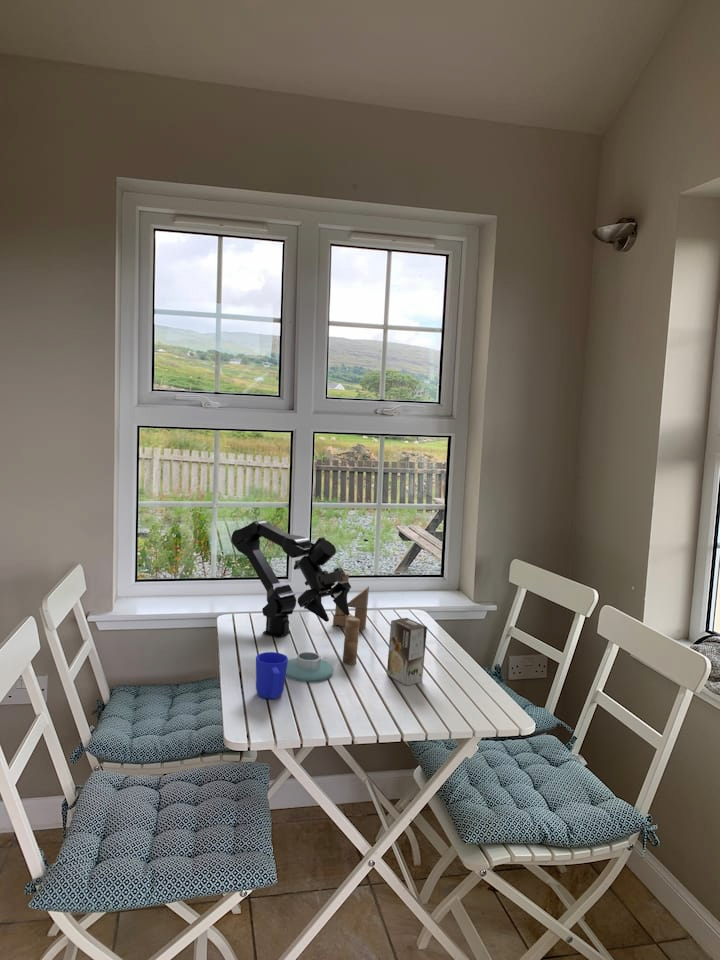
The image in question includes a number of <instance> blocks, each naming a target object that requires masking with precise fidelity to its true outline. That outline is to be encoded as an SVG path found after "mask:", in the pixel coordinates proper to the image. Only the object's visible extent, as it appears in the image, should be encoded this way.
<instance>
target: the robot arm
mask: <svg viewBox="0 0 720 960" xmlns="http://www.w3.org/2000/svg"><path fill="white" fill-rule="evenodd" d="M261 538H264V539H267V540H269V541H270V542H272V543H274V544H276V545H277V546H279V547H281V549H282V551H283V553H285V554H286V555H287V556H289V558H291V559H293V558H294V559H295V558H296V559H297V558H299V559H297V560H295V561H294V565H293V570H294V571H295V570H300V571H301V573H302V575H303V577H304V579H305V582H304V584H305V586H308V587H310V589H306V590H305V591H304V592H303V593H302V594H301V595H299V596H298V598H296V594H295V592H294V591H293V590H292V587H291V586H290V584H284V585H283V584H282V583H281V581H280V580H279V578H278V577H277V575H276V574H275V572H274V570H273V569H272V566H271V565H270V563H269V562H268V560H267V558H266V557H265V555H264V553H263V552H262V550H261V541H260V540H261ZM230 539H231V543H232V545H233V546H234V548H235V549H236V550H237V551H238V552H239V553H240V554H243V555H244V556H245V557H246V558H247V560H248V561H249V563H250V564H251V567H252V569H254V572H255V573H256V576H258V578H259V580H260V582H261V584H262V585H263V587H264V589H265V591H266V602H267V603H266V605H264V606H263V607H262V609H261V611H262V615H263V616H264V617H266V623H265V630H264V631H262V634H264V635H266V636H271V637H275V638H277V639H278V638H279V639H281V638H282V637H284V636H286V635H288V634H290V633H291V631H290V620H289V615H292V614H293V612H294V610H295V608H296V605H297V604H298V605H299V607H300V608H303V609H305V610H308V611H309V612H311V613H313V614H314V615H316V616H317V617H318V618H320V619H321V620H322V621H325V622H326V623H328V622H329V621H330V619H329V616H328V614H327V612H326V610H325V607H324V605H323V604H322V598H324V597H329V596H330V598H332V602H334V604H335V606H336V605H337V606H338V607H339V608H340V609H341V611H342V612H343V613H344V614H345V615H346V616H348V615H349V614H350V609H349V607H348V594H349V592H350V591H351V590H350V589H352V586H351V583H350V582H349V581H348V582H347V581H343V577H345V573H344V572H345V571H344V569H343V568H342V567H337V568H334V569H333V571H332V572H328V571H327V570H323V569H322V566H324V565H325V564H326V563H327V562H329V561H330V560H331V559H332V558H333V557H334V556H335V555H336V553H337V550H336V549H337V548H336V547H335V545H334V544H332V542H330V541H329V540H326V539H325V537H324V536H323V537H319V538H317V540H316V542H315V543H314V542H312V541H311V540H310V539H309V537H306V536H302V535H295V534H290V533H288V532H286V531H285V530H282V529H281V528H279V527H276V526H275V525H272V524H270V523H269V521H266V520H264V519H260V520H255V521H253V522H251V523H249V524H248V525H246V526H244V527H241V528H239V529H236V530H233V532H232V534H231V537H230ZM300 557H301V558H300ZM338 581H343V582H339V583H338Z"/></svg>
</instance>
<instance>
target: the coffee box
mask: <svg viewBox="0 0 720 960" xmlns="http://www.w3.org/2000/svg"><path fill="white" fill-rule="evenodd" d="M389 631H390V632H389V640H388V641H389V643H388V644H389V645H388V655H387V665H386V666H387V668H386V675H387V676H389V677H390V678H393V679H394V680H395V681H398V682H400V683H402V684H403V685H405V686H410V685H414V684H419V683H422V682H423V677H424V675H423V674H424V667H425V666H424V664H425V655H426V643H427V631H428V626H426V625H423V624H422V623H419V622H417V621H415V620H413V619H411V618H409V617H403V618H398V619H393V620H391V621H390V630H389Z"/></svg>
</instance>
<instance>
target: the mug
mask: <svg viewBox="0 0 720 960" xmlns="http://www.w3.org/2000/svg"><path fill="white" fill-rule="evenodd" d="M288 660H289V658H288V656H287V655H285V654H283V653H281V652H274V651H268V652H267V651H266V652H261V653H259V654H257V655H256V656H255V690H256V694H257V695H258V696H259V697H261V698H262V699H269V700H273V699H277V698H279V697H281V696H282V694H283V692H284V688H285V682H286V677H287V676H286V669H287V663H288Z"/></svg>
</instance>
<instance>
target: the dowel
mask: <svg viewBox="0 0 720 960" xmlns="http://www.w3.org/2000/svg"><path fill="white" fill-rule="evenodd" d="M359 623H360V619H358V618H354V617H349V618H346V627H344V628H345V629H344V642H343V653H342V663H343V664H344V665H349V666H351V665H356V664H357V657H358V656H357V655H358V645H359V644H358V643H359V633H360V629H359Z"/></svg>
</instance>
